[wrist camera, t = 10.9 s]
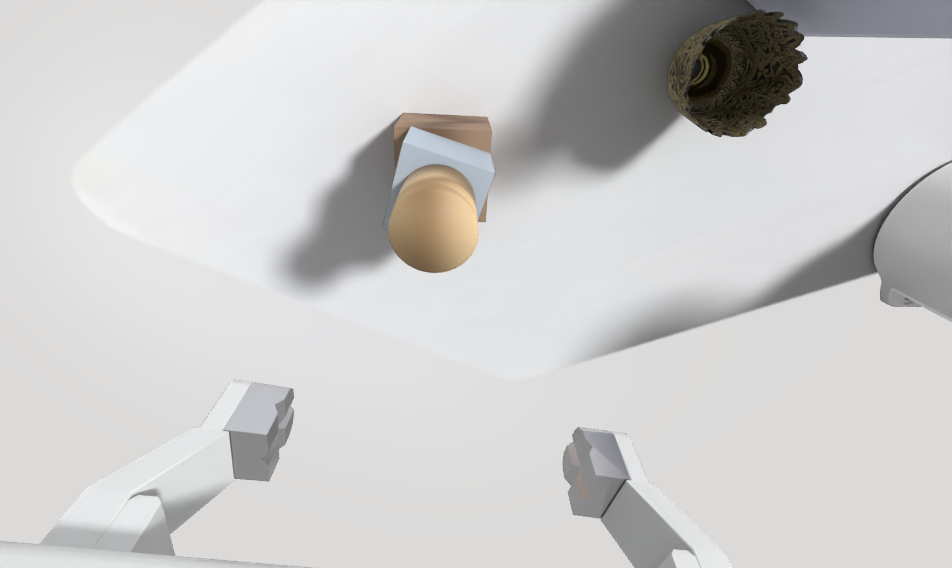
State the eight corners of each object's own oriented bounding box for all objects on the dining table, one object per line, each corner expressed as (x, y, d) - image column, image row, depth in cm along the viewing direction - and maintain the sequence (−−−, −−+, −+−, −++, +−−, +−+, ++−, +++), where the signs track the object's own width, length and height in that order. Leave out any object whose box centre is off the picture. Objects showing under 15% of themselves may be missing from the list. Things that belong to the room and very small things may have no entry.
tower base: (487, 116, 35) (491, 131, 30) (482, 196, 39) (485, 222, 34) (403, 112, 35) (393, 126, 30) (406, 193, 39) (397, 218, 34)
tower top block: (490, 153, 31) (495, 172, 27) (465, 225, 34) (465, 253, 30) (411, 126, 30) (402, 142, 26) (392, 203, 33) (381, 228, 29)
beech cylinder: (481, 171, 27) (486, 197, 22) (468, 241, 29) (470, 278, 25) (402, 157, 26) (391, 182, 22) (396, 231, 29) (385, 266, 24)
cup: (677, 136, 37) (727, 160, 30) (624, 74, 34) (665, 85, 27) (755, 63, 34) (829, 71, 27) (703, -10, 31) (771, -22, 24)
